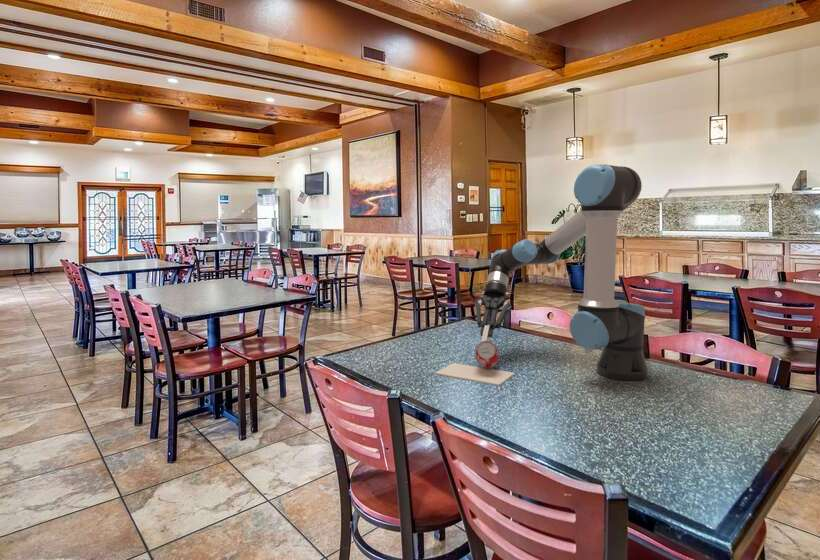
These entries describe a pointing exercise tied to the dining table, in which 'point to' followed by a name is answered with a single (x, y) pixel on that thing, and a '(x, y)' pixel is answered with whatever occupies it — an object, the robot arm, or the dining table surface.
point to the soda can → (487, 354)
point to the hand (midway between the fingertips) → (484, 344)
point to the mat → (475, 374)
